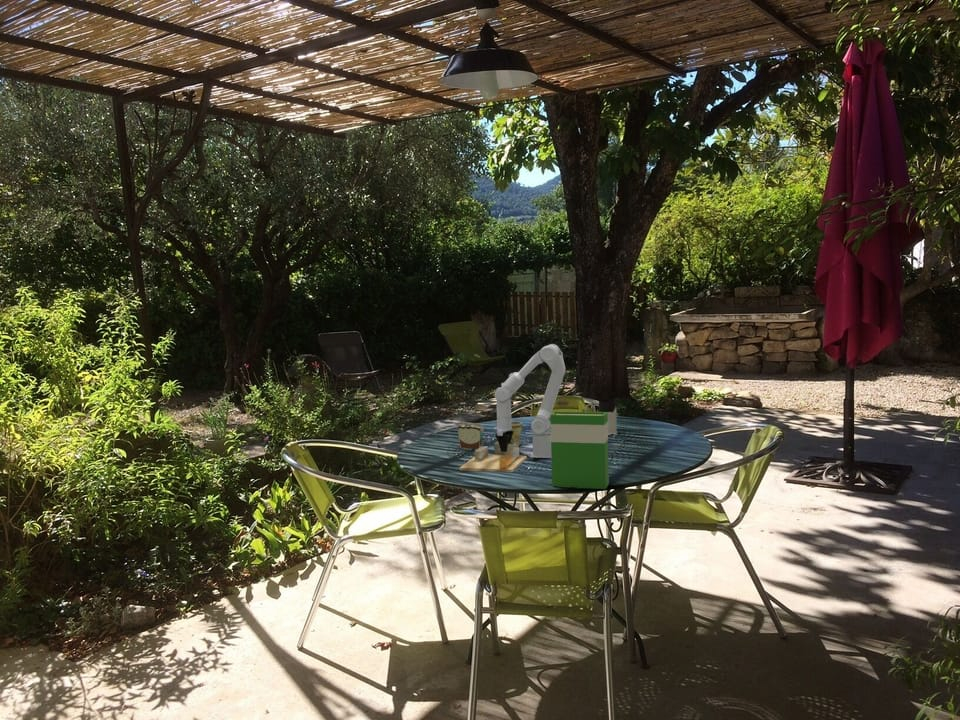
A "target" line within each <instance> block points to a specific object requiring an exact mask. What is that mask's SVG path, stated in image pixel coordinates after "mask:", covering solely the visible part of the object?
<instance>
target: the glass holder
mask: <svg viewBox="0 0 960 720" xmlns="http://www.w3.org/2000/svg"><path fill="white" fill-rule="evenodd" d="M588 406H592V407H593V409H594V412H597V411H596V406H595V405H594V404H592V403H591V404H590V403H589V404H587V405H586V406H585V408H584V412H587V407H588ZM598 412H607V413H608V435H610V434H616V433H618V432H617V430H618V429H617V428H618V427H617V421H618V420H617V400H614V399H600V400H598Z"/></svg>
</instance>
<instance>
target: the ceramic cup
mask: <svg viewBox="0 0 960 720" xmlns="http://www.w3.org/2000/svg"><path fill="white" fill-rule="evenodd" d="M511 424H512V430H510V431H514V433H513V435H512V438H511V442H516V447H519V446H520V442H521V441H520V440H521V433H522V430H523V422H522V421H519V420H518V421H516V420H511Z"/></svg>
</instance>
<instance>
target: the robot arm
mask: <svg viewBox="0 0 960 720" xmlns="http://www.w3.org/2000/svg"><path fill="white" fill-rule="evenodd" d="M563 354H564V353H563V352H562V350H561V349H560V347H559V346H558V345H557V344H555V343H551V344H550V343H549V344H548V345H544V346H543V347H542V348H541V349H540V350H539V351H537V352H536V353H534V355H532V356H531V358H530V359H529V360H528V361H527V362H526V363H525V364H524V365H523V367H522V368H521V369H520V370H519V371H517V372H516V371H515V372H511V373H510V374H509V375H508V378H507V379H506V380H505V381H504V382H501V384H500V386H501V387H500V386H499V387H497V388H496V390H495V392H494V398H495V400H496V424H497V425H496V426H495V427H494V430H496V433H495V435H494V436H495V438H496V440H497V442H499V446H500V450H501V452H506V451H507V443H508V442H511V438H512V435H513V433H514V431H510V430H512V424H511V421H512V403H511V401H512V400H511V399H512V397H513V394H516V391H518V390H519V389H520V388H521V386H523V384H524V383H525V378H526V377H527V375H529V374H530V373H531V372H532V371H533V370H534V369H535V368H536V367H537V366H538V365H540V364H543V363H546V364H547V366H548V367H549V369H550V370H551V374H550V376H549V379H548V383H547V386H546V388H545V389H546V390H545V391H544V395H543V398H542V401H541V405H540V408H539V410H538V411H537V414H536V417H535V418H534V419H533V421H532V422H531V424H530V429H531V431H532V433H531V434H532V436H531V437H532V454H533V455H532V454H531V455H530V456H529V457H530V458H534V457H535V459H536V458H537V459H538V458H539V459H542V458H543V459H552V456H551V419H550V415H553V410H554V406H555V403H556V401H557V398H558V397H557V396H558V395H559V391H560V389H561V385H562V382H563V379H564V376H565V373H566V365H565V364H566V363H565V361H564V355H563Z"/></svg>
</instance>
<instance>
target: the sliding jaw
mask: <svg viewBox="0 0 960 720" xmlns="http://www.w3.org/2000/svg"><path fill="white" fill-rule="evenodd" d="M519 456H520V447H519V446H518V447H512V448H511V449H510V450H509V451H507V452H506V453H505V454H504V455H503V456H501V457H500V458H499V465H500V468H507V467H508V466H509V465H510V464H511V463H512V462H513V461H514V460H516V459H517V458H518V457H519Z"/></svg>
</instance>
